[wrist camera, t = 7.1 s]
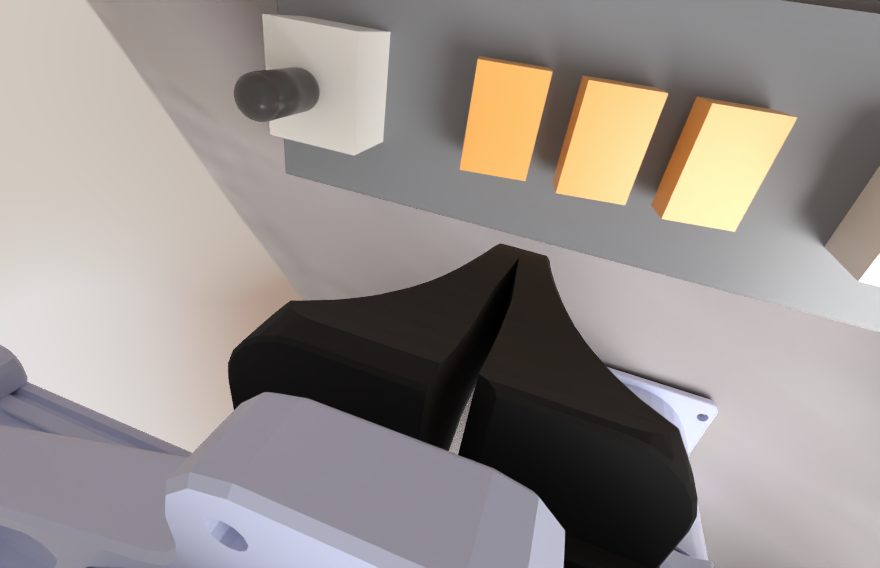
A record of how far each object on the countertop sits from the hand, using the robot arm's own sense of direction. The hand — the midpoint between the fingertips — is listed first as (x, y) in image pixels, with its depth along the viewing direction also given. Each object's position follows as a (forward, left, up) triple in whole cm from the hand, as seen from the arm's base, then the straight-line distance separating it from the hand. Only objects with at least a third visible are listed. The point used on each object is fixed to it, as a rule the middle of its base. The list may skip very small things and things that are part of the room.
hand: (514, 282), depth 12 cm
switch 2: (+3, -5, -7) cm, 9 cm away
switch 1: (+3, +2, -7) cm, 8 cm away
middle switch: (+3, -1, -7) cm, 8 cm away
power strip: (+3, -1, -10) cm, 11 cm away
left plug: (+3, +9, -7) cm, 12 cm away
